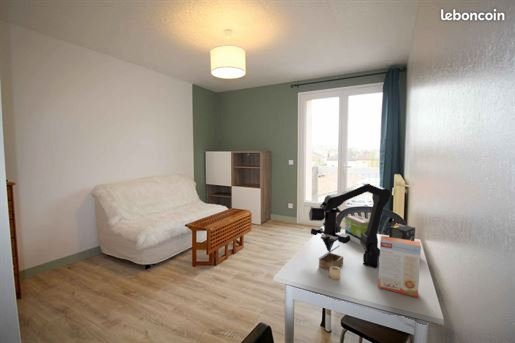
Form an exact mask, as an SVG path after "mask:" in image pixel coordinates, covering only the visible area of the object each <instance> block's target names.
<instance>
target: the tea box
mask: <svg viewBox="0 0 515 343" xmlns="http://www.w3.org/2000/svg"><path fill="white" fill-rule="evenodd" d="M368 223H369V219H368V218H365V217H363V216H360V215H358V214H356V215H347V216H345V226H344V228H345V229H344V234H347V235H349V236H350V241H352V242H354V243H355V244H357V245H358V246H362V245H361V244H360V240H359V239H360V237H361V233H365V232H366V231H367V227H368Z"/></svg>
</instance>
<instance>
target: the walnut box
mask: <svg viewBox="0 0 515 343" xmlns="http://www.w3.org/2000/svg"><path fill="white" fill-rule="evenodd" d="M343 263H344V256H342V255H340V254H337V253H333V252H330V253H329V254H327V255H326V256H324V257H323V258H321V259H318V267H319V268H322V269H324V270H326V271H329V269H330V267H331V266H336V267H339V268H340V266H342V265H343Z"/></svg>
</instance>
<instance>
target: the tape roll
mask: <svg viewBox="0 0 515 343" xmlns="http://www.w3.org/2000/svg"><path fill="white" fill-rule="evenodd" d="M328 271H329V273H328V278H330V279H332V280H334V281H340V279H341V274H342V271H341V268H340V266H339V267H336V266H331V267H330V269H329V270H328Z"/></svg>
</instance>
